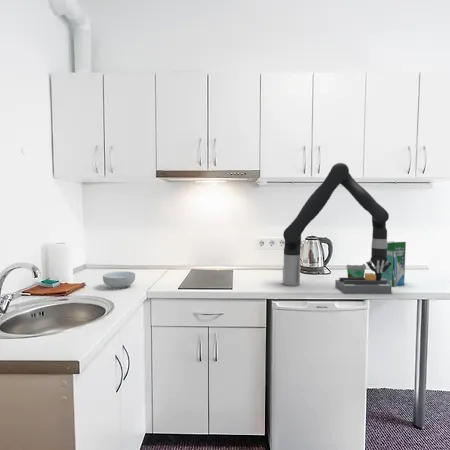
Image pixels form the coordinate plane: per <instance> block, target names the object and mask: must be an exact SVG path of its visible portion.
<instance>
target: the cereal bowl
mask: <svg viewBox="0 0 450 450" xmlns="http://www.w3.org/2000/svg"><path fill="white" fill-rule="evenodd" d="M135 279H136V273H135V272H134V271H125V270H124V271H121V270H120V271H119V270H118V271H110V272H107V273H104V274H103V275H102V281H103V283H104V284H105V286H108V287H111V288H112V289H116V290H117V289H124V288H127V287H128V286H130V285H132V284H133V283H134V282H135Z"/></svg>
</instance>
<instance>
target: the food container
mask: <svg viewBox="0 0 450 450" xmlns="http://www.w3.org/2000/svg"><path fill="white" fill-rule="evenodd" d="M345 268H346V270H347V278H365V273H366V272H365V270H366V269H367V266H366V264H364V263H363V264H362V265H357V264H353V265H352V264H351V265H350V264H347V265H346V267H345Z"/></svg>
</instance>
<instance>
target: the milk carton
mask: <svg viewBox="0 0 450 450" xmlns="http://www.w3.org/2000/svg"><path fill="white" fill-rule="evenodd" d="M406 243H407V242H406V241H395V240H391V241H387V261H389V262H390V263H391V265H390V266H389V268H388V269H387V270H386V271H385V272H382V278H381V280H386V281H387V284H388V285H390V286H392V287H402V286H405V272H406V249H407V248H406V247H407V245H406ZM384 265H385V264H384ZM383 267H384V266H383Z"/></svg>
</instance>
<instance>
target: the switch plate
mask: <svg viewBox="0 0 450 450" xmlns="http://www.w3.org/2000/svg"><path fill="white" fill-rule="evenodd" d="M334 283H335V285H334V287H335V288H336V289H337V290H338V291H340V292H341V291H342V293H343V294H346V295H349V294H350V295H351V294H352V295H353V294H354V295H358V294H359V295H379V294H380V295H391V294H392V286H390V285H388V284H387V281H386V280H381V279H380V280H377V279H376V280H365V277H364V278H348V277H339V279H335V282H334Z"/></svg>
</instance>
